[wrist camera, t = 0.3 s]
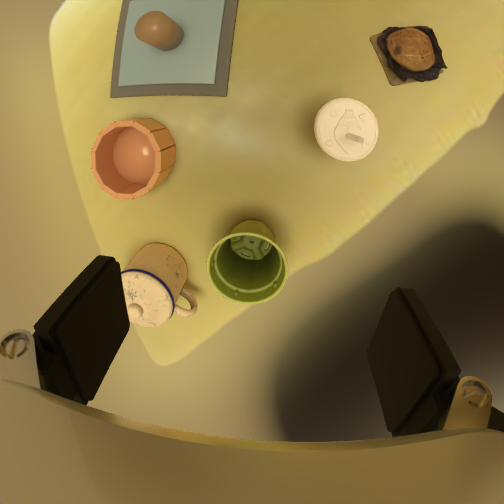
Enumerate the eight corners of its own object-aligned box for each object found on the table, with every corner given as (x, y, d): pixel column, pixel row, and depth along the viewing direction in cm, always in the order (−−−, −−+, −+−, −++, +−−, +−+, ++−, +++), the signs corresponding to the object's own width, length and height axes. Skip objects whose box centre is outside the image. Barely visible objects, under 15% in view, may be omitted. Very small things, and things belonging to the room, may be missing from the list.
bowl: (111, 119, 34) (90, 122, 30) (176, 118, 34) (162, 120, 29) (112, 185, 39) (92, 197, 34) (173, 189, 39) (160, 201, 34)
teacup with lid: (127, 273, 46) (96, 317, 35) (146, 229, 42) (111, 269, 31) (191, 309, 48) (173, 360, 38) (216, 269, 44) (200, 319, 34)
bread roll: (389, 90, 31) (400, 89, 28) (364, 33, 28) (373, 27, 25) (448, 76, 29) (462, 75, 26) (426, 22, 25) (439, 17, 22)
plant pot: (210, 256, 43) (197, 290, 35) (230, 197, 39) (219, 221, 31) (270, 277, 44) (269, 313, 36) (295, 221, 40) (301, 250, 32)
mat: (125, -4, 26) (123, -5, 25) (240, -13, 26) (239, -15, 25) (112, 97, 33) (110, 97, 33) (226, 96, 33) (225, 96, 32)
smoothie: (303, 148, 35) (321, 169, 23) (304, 98, 32) (323, 91, 20) (352, 151, 35) (393, 174, 23) (354, 102, 32) (398, 101, 20)
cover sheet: (131, 2, 26) (109, -12, 20) (226, -6, 26) (217, -26, 20) (120, 86, 32) (94, 84, 26) (214, 84, 32) (203, 79, 26)
